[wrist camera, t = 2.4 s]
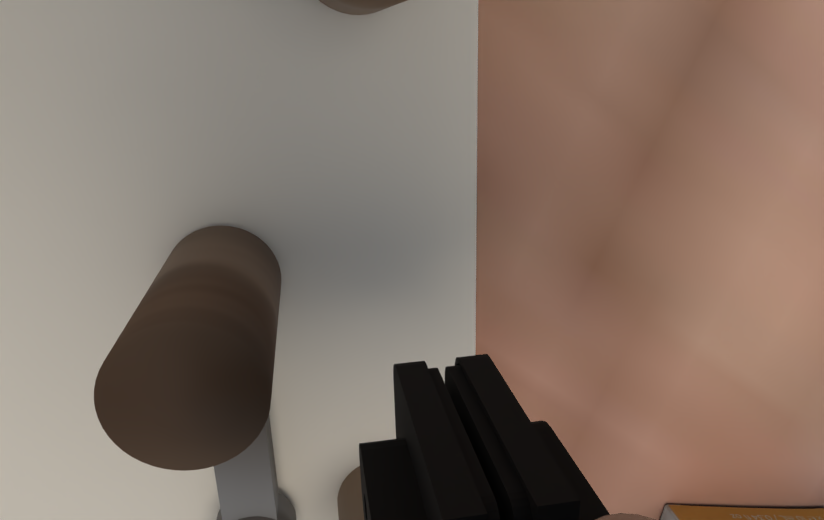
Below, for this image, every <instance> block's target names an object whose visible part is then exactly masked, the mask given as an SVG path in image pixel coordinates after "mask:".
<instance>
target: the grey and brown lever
mask: <svg viewBox="0 0 824 520" xmlns="http://www.w3.org/2000/svg"><path fill="white" fill-rule="evenodd" d="M280 292H281V271H280V267H279V264H278V261H277V259H276V257H275V255H274V253H273V252H272V250H271V249H270V248H269V247H268V246H267V244H266V243H265V242H263V241H262V240H261V239H260V238H258V237H257V236H256V235H254V234H252V233H250V232H248V231H246V230H243V229H241V228H237V227H232V226H210V227H206V228H202V229H199V230H197V231H194V232H192V233H191V234H189V235H187V236H186V237H185V238H183V239H182V240H181V241H180V242H179V243H178V244H177V245H176V246H175V248H174V249H173V250H172V252H171V253H170V255H169V257H168V258H167V260H166V262H165V263H164V265H163V266H162V268H161V270H160V271H159V273H158V274H157V276H156V278H155V279H154V281H153V283H152V284H151V286H150V287H149V289H148V291H147V292H146V294H145V296H144V297H143V299H142V300H141V302H140V304H139V305H138V307H137V308H136V310H135V312H134V313H133V315H132V317H131V318H130V320H129V321H128V323H127V325H126V326H125V328H124V329H123V331H122V333H121V334H120V336H119V338H118V339H117V341H116V342H115V344H114V346H113V347H112V349H111V350H110V352H109V354H108V355H107V357H106V359H105V360H104V362H103V364H102V366H101V367H100V369H99V372H98V375H97V377H96V381H95V386H94V405H95V410H96V414H97V417H98V420H99V422H100V424H101V426H102V428H103V429H104V431H105V432H106V434H107V435H108V437H109V438H110V439H111V440H112V441H113V442H114V443H115V444H116V445H117V446H118V447H119V448H120V449H121V450H123V451H124V452H125V453H127V454H128V455H130V456H131V457H133V458H135V459H137V460H139V461H141V462H143V463H146V464H148V465H151V466H154V467H158V468H162V469H169V470H180V471H188V470H199V469H205V468H209V467H213V466H214V472H215V478H216V484H217V490H218V497H219V503H220V510H219V512H218V515H217V520H296V512H295V509H294V507H293V505H292V503H291V502H290V501H289V500H288V499H287V498H286V497H285V496H283V495H282V494H280V493H279V492H278V484H277V475H276V467H275V459H274V450H273V442H272V434H271V425H270V417H269V411H270V406H271V396H272V384H273V373H274V361H275V350H276V338H277V327H278V315H279V304H280Z"/></svg>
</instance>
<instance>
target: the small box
mask: <svg viewBox="0 0 824 520" xmlns="http://www.w3.org/2000/svg"><path fill="white" fill-rule="evenodd" d="M660 520H824V508H816V509H777V508H736V507H711V506H685V505H666V506H665V507H664V510H663V513H662V516H661V519H660Z"/></svg>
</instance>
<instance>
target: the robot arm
mask: <svg viewBox="0 0 824 520" xmlns="http://www.w3.org/2000/svg"><path fill="white" fill-rule="evenodd" d="M393 381H394V403H395V426H396V439H391V440H383V441H375V442H367V443H359V460H360V475H361V489H362V501H363V511H364V520H656V519H652V518H649V517H645V516H642V515H638V514H625V513H618V514H611V515H610V514H609V513H608V511H607V510H606V508H605V507H604V505H603V504H602V502H601V501H600V499H599V498H598V496H597V495H596V493H595V492H594V490H593V489H592V487H591V486H590V484H589V483H588V481H587V480H586V479H585V477H584V476H583V474H582V473H581V471H580V470H579V468H578V467H577V465H576V464H575V462H574V461H573V459H572V458H571V456H570V455H569V453H568V452H567V450H566V449H565V447H564V446H563V445H562V443H561V442H560V440H559V439H558V437H557V436H556V434H555V433H554V431H553V430H552V428H551V427H550V426H549V425H548V423H547V422H545V421H536V422H530V420H529V419H528V417H527V415H526V414H525V412H524V411H523V409H522V407H521V406H520V404H519V403H518V401H517V399H516V398H515V396H514V395H513V393H512V392H511V390H510V388H509V387H508V385H507V384H506V382H505V380H504V379H503V377H502V376H501V374H500V373H499V371H498V369H497V368H496V366H495V365H494V363H493V361H492V360H491V358H490V357H489V356H488V354H483V355H474V356H464V357H456V360H455V366H447V367H446V368H445V383H444V381H443V378H442V376H441V374H440V372H439V369H438V368H428V367H427V364H426V362H425V361H417V362H408V363H398V364H394V366H393Z"/></svg>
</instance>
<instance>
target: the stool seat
mask: <svg viewBox="0 0 824 520" xmlns="http://www.w3.org/2000/svg"><path fill="white" fill-rule="evenodd" d="M477 92H478V0H0V520H217V515H218V512H219V510H220V503H219V497H218V490H217V484H216V478H215V472H214V466H213V467H209V468H205V469H199V470H188V471H180V470H169V469H162V468H158V467H154V466H151V465H148V464H146V463H143V462H141V461H139V460H137V459H135V458H133V457H131V456H130V455H128V454H127V453H125V452H124V451H123V450H121V449H120V448H119V447H118V446H117V445H116V444H115V443H114V442H113V441H112V440H111V439H110V438H109V437H108V435H107V434H106V432H105V431H104V429H103V428H102V426H101V424H100V422H99V420H98V417H97V414H96V410H95V405H94V386H95V381H96V377H97V375H98V372H99V369H100V367H101V366H102V364H103V362H104V360H105V359H106V357H107V355H108V354H109V352H110V350H111V349H112V347H113V346H114V344H115V342H116V341H117V339H118V338H119V336H120V334H121V333H122V331H123V329H124V328H125V326H126V325H127V323H128V321H129V320H130V318H131V317H132V315H133V313H134V312H135V310H136V308H137V307H138V305H139V304H140V302H141V300H142V299H143V297H144V296H145V294H146V292H147V291H148V289H149V287H150V286H151V284H152V283H153V281H154V279H155V278H156V276H157V274H158V273H159V271H160V270H161V268H162V266H163V265H164V263H165V262H166V260H167V258H168V257H169V255H170V253H171V252H172V250H173V249H174V248H175V246H176V245H177V244H178V243H179V242H180V241H181V240H182V239H183V238H185V237H186V236H187V235H189V234H191V233H192V232H194V231H197V230H199V229H202V228H206V227H210V226H232V227H237V228H241V229H243V230H246V231H248V232H250V233H252V234H254V235H256V236H257V237H258V238H260V239H261V240H262V241H263V242H265V243H266V244H267V246H268V247H269V248H270V249H271V250H272V252H273V253H274V255H275V257H276V259H277V261H278V264H279V267H280V271H281V292H280V304H279V315H278V327H277V338H276V350H275V361H274V373H273V384H272V396H271V406H270V411H269V417H270V425H271V434H272V442H273V450H274V459H275V467H276V475H277V484H278V492H279V493H280V494H282V495H283V496H285V497H286V498H287V499H288V500H289V501H290V502H291V503H292V505H293V507H294V509H295V512H296V520H364V511H363V501H362V489H361V475H360V460H359V443H367V442H375V441H383V440H391V439H396V426H395V403H394V381H393V366H394V364H398V363H408V362H417V361H425V362H426V364H427V367H428V368H438V369H439V372H440V374H441V376H442V378H443V381H444V383H445V368H446V367H447V366H455V360H456V357H464V356H474V355H475V343H476V217H477Z"/></svg>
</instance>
